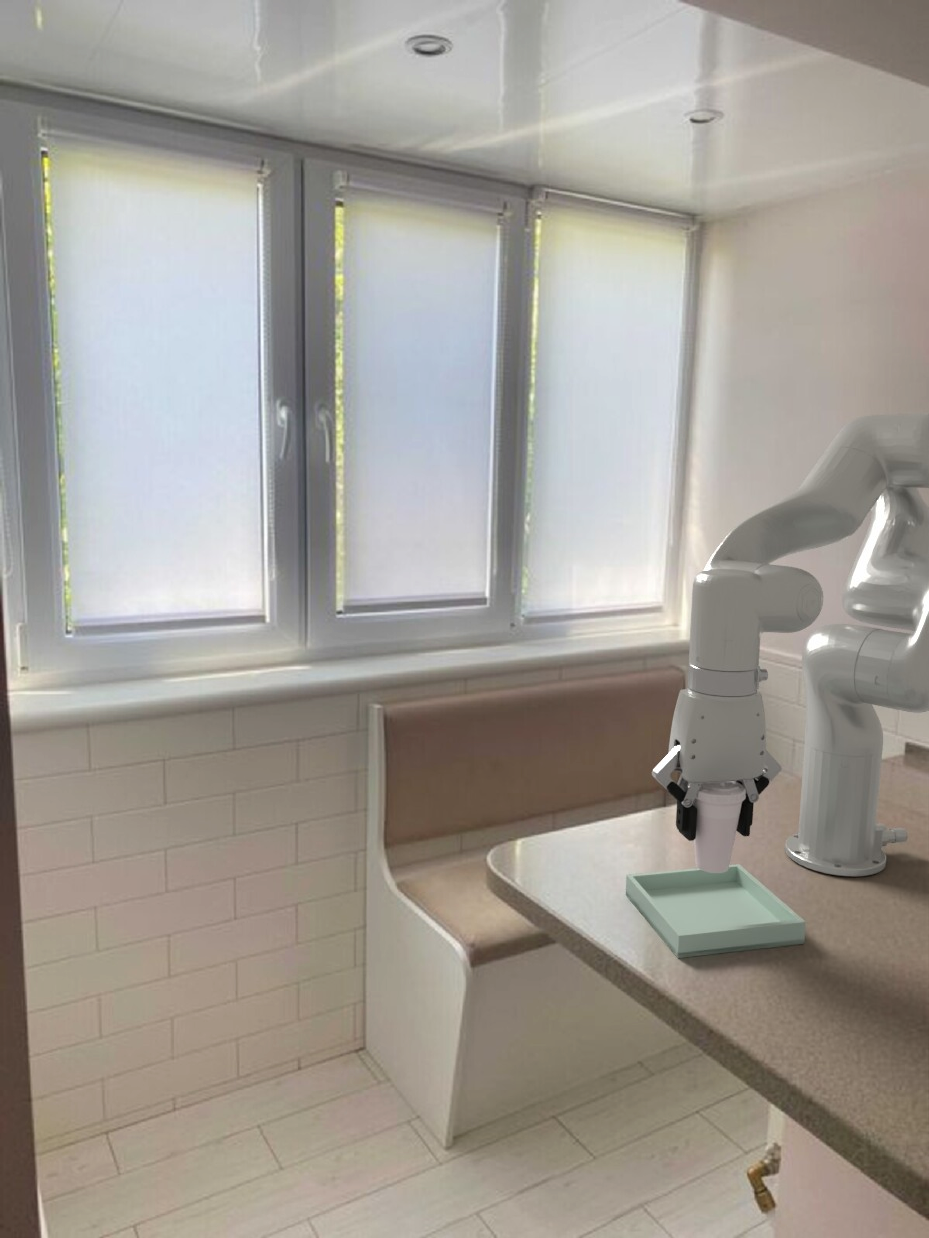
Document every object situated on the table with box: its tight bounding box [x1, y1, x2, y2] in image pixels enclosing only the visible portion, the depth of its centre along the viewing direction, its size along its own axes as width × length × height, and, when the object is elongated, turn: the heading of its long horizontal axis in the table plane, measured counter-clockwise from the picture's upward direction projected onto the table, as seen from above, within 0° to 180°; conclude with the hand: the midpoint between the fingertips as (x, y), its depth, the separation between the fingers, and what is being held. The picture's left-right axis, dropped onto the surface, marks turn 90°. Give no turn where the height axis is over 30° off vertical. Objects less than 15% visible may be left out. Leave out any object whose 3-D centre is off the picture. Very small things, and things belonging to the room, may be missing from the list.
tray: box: [625, 863, 807, 959], centre depth 109 cm, size 15×15×3 cm
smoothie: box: [693, 781, 746, 873], centre depth 106 cm, size 6×6×14 cm
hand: (713, 832), depth 107 cm, fingers closed on smoothie, 6 cm apart
